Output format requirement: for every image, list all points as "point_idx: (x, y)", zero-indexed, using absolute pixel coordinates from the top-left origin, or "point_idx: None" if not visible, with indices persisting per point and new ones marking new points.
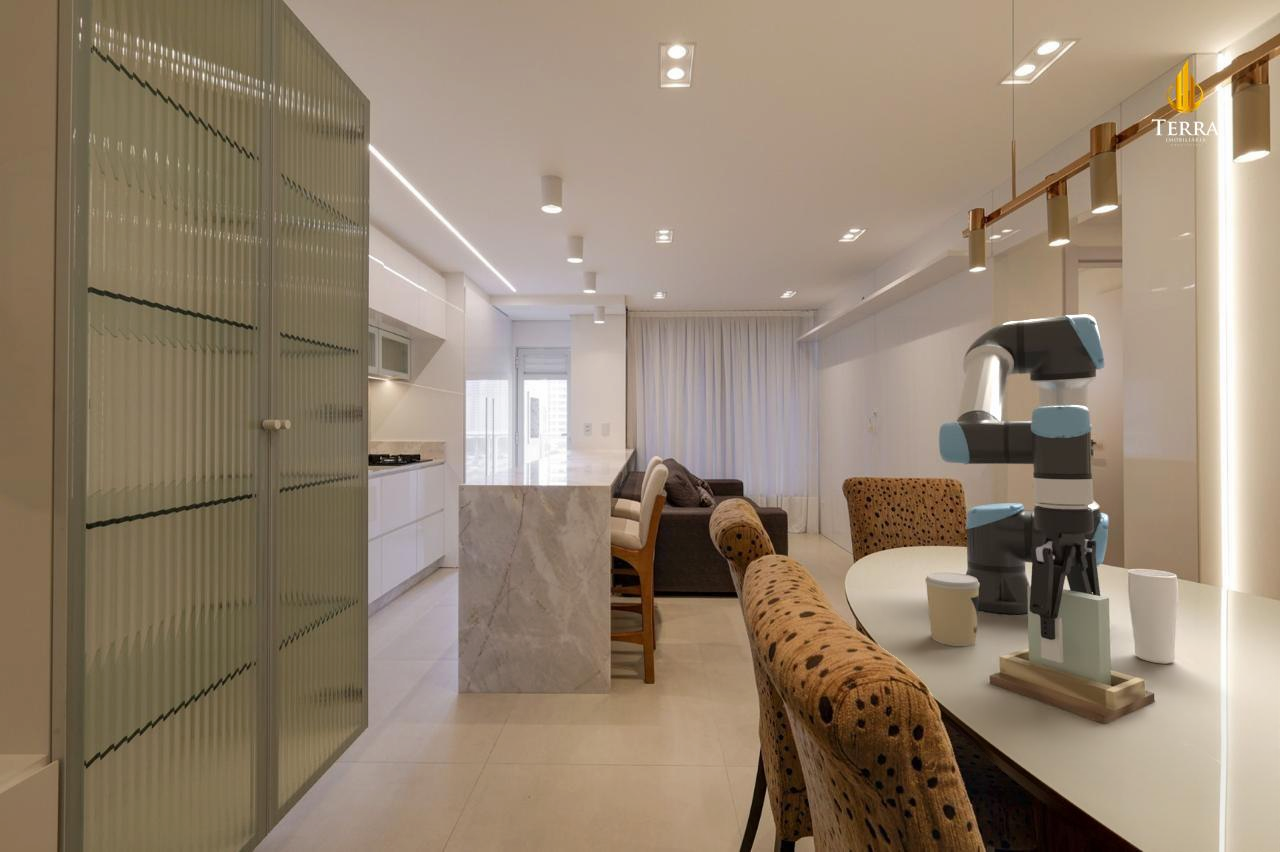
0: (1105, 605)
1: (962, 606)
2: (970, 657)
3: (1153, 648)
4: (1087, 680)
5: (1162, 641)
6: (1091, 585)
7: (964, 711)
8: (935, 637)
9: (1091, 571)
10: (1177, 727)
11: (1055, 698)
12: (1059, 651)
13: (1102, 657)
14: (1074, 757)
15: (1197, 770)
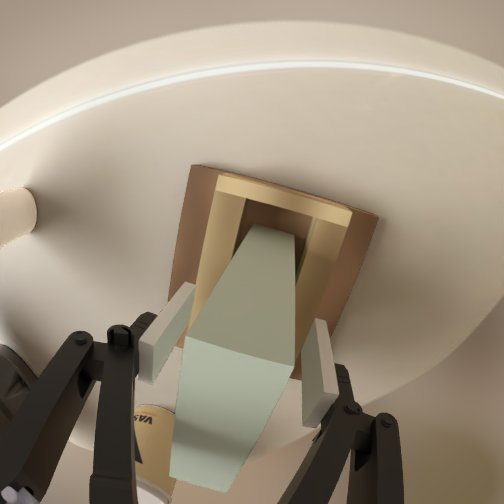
0: (227, 327)
1: (160, 461)
2: None
3: (22, 211)
4: (313, 263)
5: (10, 202)
6: (73, 385)
7: (430, 360)
8: None
9: (47, 423)
10: (301, 118)
11: (349, 292)
12: (328, 336)
13: (280, 257)
14: (492, 231)
15: (443, 101)
